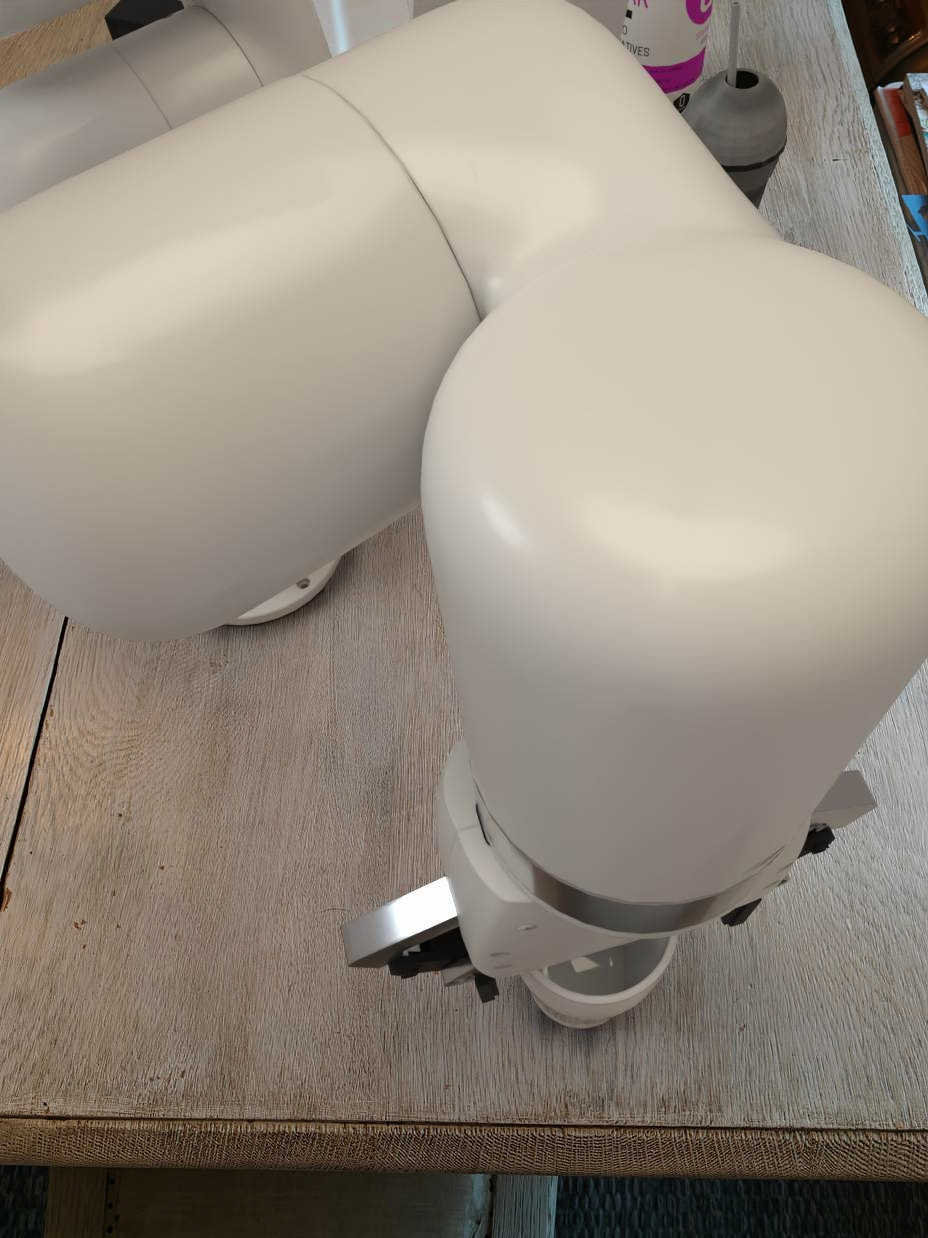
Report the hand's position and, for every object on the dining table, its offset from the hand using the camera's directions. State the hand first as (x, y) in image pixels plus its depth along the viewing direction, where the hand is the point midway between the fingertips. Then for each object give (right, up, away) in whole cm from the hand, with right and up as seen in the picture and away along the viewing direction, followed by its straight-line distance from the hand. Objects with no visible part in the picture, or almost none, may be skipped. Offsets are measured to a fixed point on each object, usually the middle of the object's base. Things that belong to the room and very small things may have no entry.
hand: (599, 923), depth 37 cm
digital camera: (-31, +62, +54) cm, 88 cm away
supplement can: (+11, +58, +48) cm, 76 cm away
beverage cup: (+13, +38, +37) cm, 55 cm away
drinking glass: (+1, -7, +13) cm, 15 cm away
